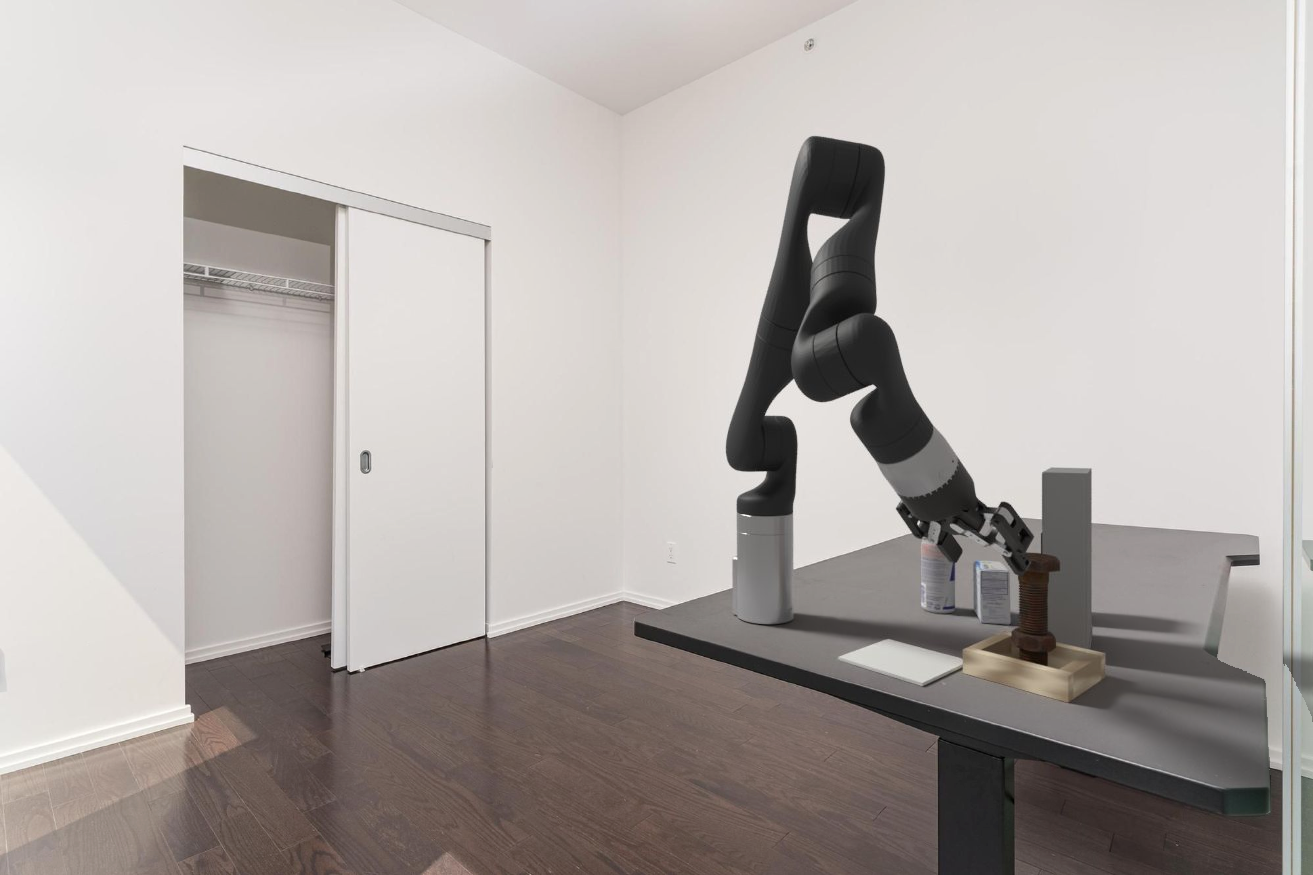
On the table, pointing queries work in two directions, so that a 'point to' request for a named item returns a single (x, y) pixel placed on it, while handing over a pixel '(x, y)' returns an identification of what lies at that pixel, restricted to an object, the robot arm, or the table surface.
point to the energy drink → (936, 580)
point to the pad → (904, 661)
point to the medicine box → (991, 592)
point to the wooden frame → (1035, 667)
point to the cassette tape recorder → (1069, 553)
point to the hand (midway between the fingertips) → (988, 562)
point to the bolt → (1035, 610)
